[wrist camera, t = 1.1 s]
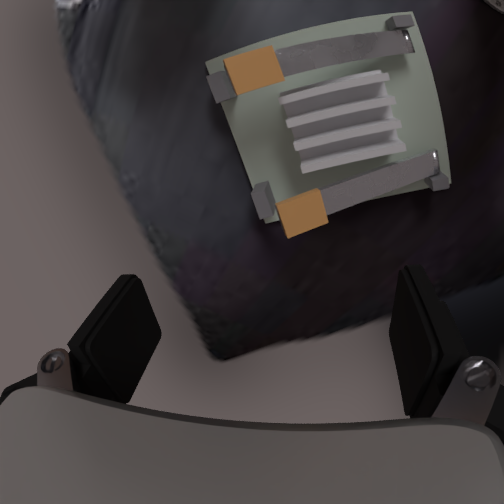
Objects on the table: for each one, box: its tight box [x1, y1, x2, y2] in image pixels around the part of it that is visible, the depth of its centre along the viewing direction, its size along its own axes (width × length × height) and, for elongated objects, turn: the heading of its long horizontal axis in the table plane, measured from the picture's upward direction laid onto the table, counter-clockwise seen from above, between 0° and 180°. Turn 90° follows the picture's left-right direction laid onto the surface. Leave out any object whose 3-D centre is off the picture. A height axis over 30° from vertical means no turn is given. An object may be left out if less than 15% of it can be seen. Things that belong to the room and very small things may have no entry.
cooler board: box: [205, 12, 451, 223], centre depth 27 cm, size 23×20×6 cm
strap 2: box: [274, 149, 440, 238], centre depth 27 cm, size 19×3×2 cm, turn 110°
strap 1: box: [223, 30, 415, 96], centre depth 22 cm, size 19×3×2 cm, turn 110°
